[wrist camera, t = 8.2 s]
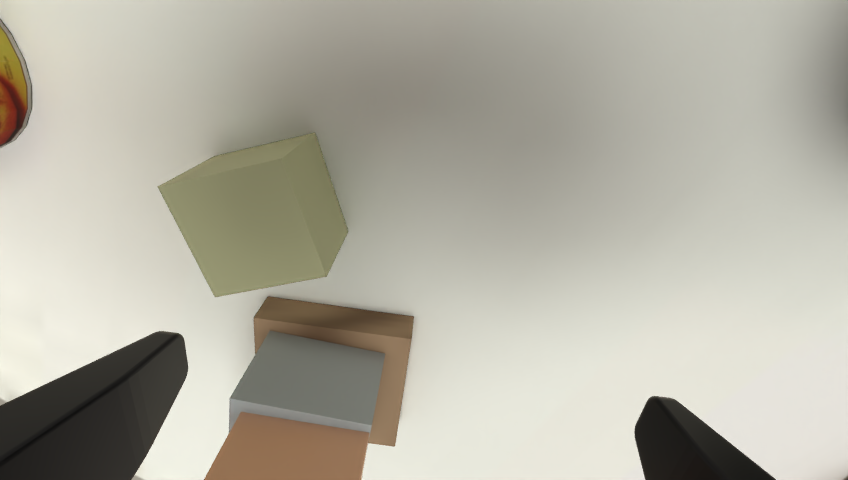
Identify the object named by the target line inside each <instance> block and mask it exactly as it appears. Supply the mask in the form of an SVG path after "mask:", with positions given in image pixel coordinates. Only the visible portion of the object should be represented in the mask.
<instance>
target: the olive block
mask: <svg viewBox="0 0 848 480" xmlns="http://www.w3.org/2000/svg"><path fill="white" fill-rule="evenodd" d="M158 188H159V190H160V192H161V194H162V196H163V198H164V200H165V202H166V204H167V206H168V208H169V210H170V212H171V213H172V215H173V217H174V219H175V221H176V223H177V225H178V227H179V229H180V231H181V233H182V235H183V237H184V239H185V240H186V242H187V244H188V246H189V248H190V250H191V252H192V254H193V256H194V258H195V260H196V262H197V264H198V265H199V267H200V269H201V271H202V273H203V275H204V277H205V279H206V281H207V283H208V285H209V287H210V289H211V291H212V292H213V294H214V296H215V297H219V296H224V295H230V294H235V293H241V292H246V291H251V290H257V289H262V288H268V287H273V286H278V285H284V284H289V283H294V282H300V281H305V280H311V279H316V278H321V277H327V275H328V273H329V271H330V269H331V267H332V264H333V262H334V260H335V258H336V256H337V254H338V252H339V250H340V248H341V246H342V244H343V242H344V240H345V237H346V235H347V233H348V229H347V226H346V223H345V220H344V217H343V214H342V211H341V208H340V205H339V202H338V199H337V196H336V193H335V190H334V187H333V184H332V181H331V178H330V175H329V173H328V170H327V167H326V164H325V161H324V158H323V155H322V152H321V149H320V146H319V143H318V140H317V137H316V134H315V133H311V134H307V135H303V136H299V137H294V138H290V139H286V140H281V141H277V142H273V143H269V144H264V145H260V146H256V147H252V148H247V149H243V150H239V151H235V152H230V153H226V154H222V155H217V156H214V157H212V158H210V159H208V160H206V161H205V162H203V163H201V164H199V165H197V166H195V167H193V168H192V169H190V170H188V171H186V172H184V173H182V174H180V175H178V176H177V177H175V178H173V179H171V180H169V181H167V182H165V183H164V184H162V185H160V186H158Z"/></svg>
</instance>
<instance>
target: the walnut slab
mask: <svg viewBox="0 0 848 480" xmlns="http://www.w3.org/2000/svg"><path fill="white" fill-rule="evenodd" d="M413 320H414V317H413V316H405V315H398V314H391V313H384V312H376V311H369V310H362V309H355V308H347V307H340V306H333V305H326V304H318V303H311V302H304V301H297V300H290V299H282V298H275V297H267V299H266V300H265V301H264V303H263V304H262V306H261V307H260V309H259V310H258V312H257V313H256V315H255V316H254V336H255V355H256V353H257V351H258V350H259V348H260V346H261V345H262V343H263V341H264V339H265V338H266V336H267V334H268V333H269V331H274V332H279V333H285V334H290V335H295V336H300V337H305V338H310V339H315V340H320V341H325V342H330V343H335V344H340V345H345V346H350V347H355V348H360V349H365V350H370V351H375V352H380V353H385V358H384V364H383V369H382V374H381V380H380V385H379V390H378V395H377V401H376V406H375V411H374V417H373V422H372V427H371V431H370V436H369V440H368V443H372V444H379V445H387V446H395V443H396V436H397V430H398V423H399V417H400V410H401V404H402V397H403V391H404V384H405V378H406V371H407V365H408V358H409V352H410V345H411V338H412V329H413Z"/></svg>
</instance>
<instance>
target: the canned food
mask: <svg viewBox="0 0 848 480" xmlns="http://www.w3.org/2000/svg"><path fill="white" fill-rule="evenodd" d="M31 108H32V104H31V83H30V79H29V75H28V72H27V68H26V64H25V61H24V59H23V57H22V55H21V53H20V51H19V49H18V47H17V45H16V43H15V41H14V39H13V37H12V35H11V33H10V32H9V31H8V29H7V28H6V27H5V25H4V24H3V23H2V21H1V20H0V148H1V147H3V146H5V145H7V144H8V143H10V142H12V141H14V140H15V139H16V138H17V137H18V135H19V134H20V133H21V132H22V130H23V129H24V128H25V127H26V124H27V121H28V118H29V114H30V111H31Z"/></svg>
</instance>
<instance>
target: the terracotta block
mask: <svg viewBox="0 0 848 480" xmlns="http://www.w3.org/2000/svg"><path fill="white" fill-rule="evenodd" d="M368 439H369V432H363V431H357V430H351V429H344V428H338V427H332V426H326V425H320V424H314V423H308V422H301V421H295V420H289V419H283V418H277V417H271V416H265V415H258V414H252V413H246V412H240V414H239V416H238V418H237V420H236V422H235V423H234V425H233V427H232V429H231V431H230V433H229V434H228V436H227V438H226V440H225V442H224V444H223V446H222V447H221V449H220V451H219V453H218V455H217V457H216V458H215V460H214V462H213V464H212V466H211V468H210V470H209V471H208V473H207V475H206V477H205V479H204V480H362V474H363V468H364V462H365V456H366V451H367V445H368Z"/></svg>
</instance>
